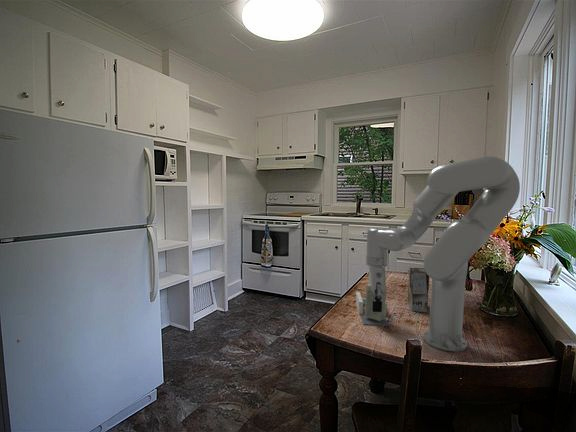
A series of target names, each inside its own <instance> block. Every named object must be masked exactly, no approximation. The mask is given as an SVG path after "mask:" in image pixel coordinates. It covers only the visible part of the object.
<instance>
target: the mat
mask: <svg viewBox="0 0 576 432" xmlns="http://www.w3.org/2000/svg"><path fill="white" fill-rule="evenodd" d="M360 316H361V320H362V323H363V325H364V326H376V327H377V326H378V327H390V324H389V322H388V320H387V318H386V316H385V315H384V319H382V320H381V321H378V320H374V319H371V318H368V317H365V313H363V314H360Z"/></svg>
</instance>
